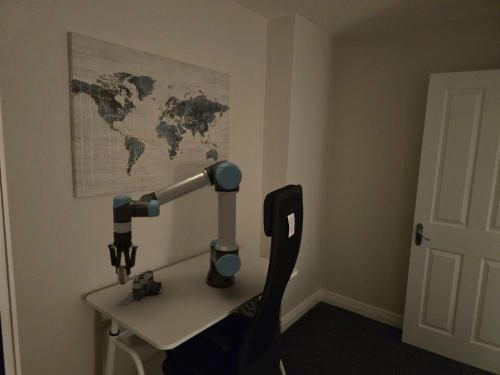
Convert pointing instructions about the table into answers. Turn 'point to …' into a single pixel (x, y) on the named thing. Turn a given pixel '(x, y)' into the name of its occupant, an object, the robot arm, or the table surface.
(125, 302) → the strip
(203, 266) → the table surface
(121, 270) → the brown rounded cylinder
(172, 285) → the table surface
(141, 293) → the camera
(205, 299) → the table surface
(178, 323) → the table surface
